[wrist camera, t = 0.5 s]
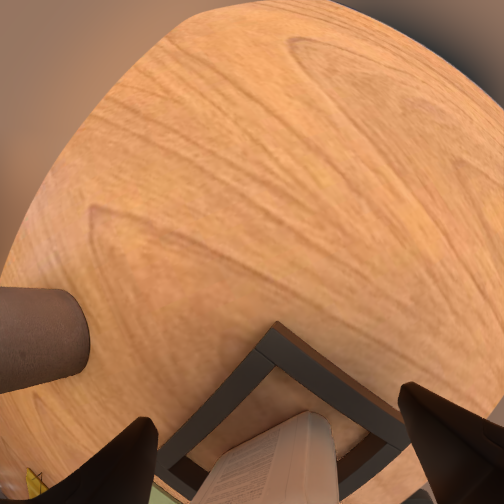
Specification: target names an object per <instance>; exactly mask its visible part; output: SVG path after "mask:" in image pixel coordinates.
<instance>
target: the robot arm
mask: <svg viewBox="0 0 504 504" xmlns="http://www.w3.org/2000/svg"><path fill="white" fill-rule="evenodd" d="M398 406H399V409H400V412H401V415H402V418H403V421H404V424H405V427H406V430H407V433H408V436H409V439H410V441H411V443H412V445H413V447H414V450H415V452H416V454H417V456H418V459H419V461H420V463H421V465H422V468H423V470H424V472H425V475H426V477H427V479H428V482H429V484H430V487H431V489H432V491H433V494H434V496H435V499H436V501H437V504H504V427H502V426H499V425H497V424H495V423H493V422H490V421H488V420H486V419H484V418H483V419H482V417H480V416H478V415H476V414H474V413H472V412H470V411H468V410H466V409H464V408H462V407H460V406H458V405H456V404H454V403H452V402H450V401H449V400H447V399H445V398H443V397H441V396H439V395H437V394H435V393H433V392H431V391H429V390H428V389H426V388H424V387H422V386H420V385H418V384H416V383H415V382H408V383H405V384H403V385H402V386H401V389H400V393H399V397H398ZM157 446H158V431H157V429H156V427H155V425H154V424H153V422H152V420H151V419H150V418H149V417H138V418H137V419H136V420H135V421H133V422H132V423H131V424H130V425H129V426H128V427H127V428H125V429H124V430H123V431H122V432H121V433H120V434H119V435H117V436H116V437H115V438H114V439H113V440H112V441H111V442H109V443H108V444H107V445H106V446H105V447H104V448H102V449H101V450H100V451H99V452H98V453H96V454H95V455H94V456H93V457H92V458H90V459H89V460H88V461H87V462H86V463H84V464H83V465H82V466H81V467H80V468H79V469H77V470H76V471H74V472H73V473H72V474H71V475H69V476H68V477H67V478H65V479H64V480H62V481H61V482H59V483H58V484H56V485H55V486H53V487H51V488H50V489H48V490H46V491H45V492H43V493H41V494H40V495H38V496H36V497H34V498H31V499H28V500H10V499H0V504H149V499H150V494H151V489H152V484H153V479H154V474H155V469H156V458H157Z"/></svg>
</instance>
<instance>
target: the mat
mask: <svg viewBox="0 0 504 504" xmlns="http://www.w3.org/2000/svg"><path fill="white" fill-rule="evenodd" d="M149 504H182V503H181V502H179V501H178V500H176V499H175V498H174V497H172V496H171V495H169V494H168V493H167V492H166V491H164V490H163V489H162V488H160V487H159V486H158V485H156V484H155V483H154V482H153V484H152V489H151V494H150V499H149Z"/></svg>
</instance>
